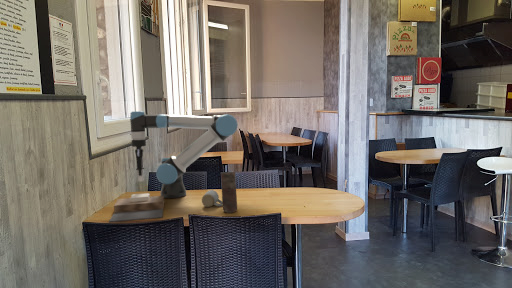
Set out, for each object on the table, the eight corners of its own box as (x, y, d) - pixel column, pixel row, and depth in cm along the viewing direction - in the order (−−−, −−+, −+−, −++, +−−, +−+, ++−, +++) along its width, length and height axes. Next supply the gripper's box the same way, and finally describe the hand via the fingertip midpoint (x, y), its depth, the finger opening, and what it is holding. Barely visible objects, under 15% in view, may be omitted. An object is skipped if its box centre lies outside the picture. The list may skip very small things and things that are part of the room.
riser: (164, 202, 202) (163, 195, 202) (163, 209, 188) (162, 201, 188) (118, 206, 197) (118, 199, 196) (114, 213, 183) (113, 205, 183)
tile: (149, 197, 199) (149, 193, 199) (148, 200, 191) (148, 196, 191) (132, 198, 197) (132, 194, 197) (130, 202, 189) (130, 197, 189)
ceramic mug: (201, 207, 190) (200, 193, 189) (205, 203, 198) (205, 189, 197) (220, 208, 188) (220, 193, 188) (224, 204, 196) (224, 190, 196)
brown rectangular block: (219, 211, 182) (217, 172, 180) (230, 208, 187) (229, 170, 185) (229, 214, 176) (227, 173, 174) (240, 211, 181) (239, 171, 180)
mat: (163, 209, 187) (163, 208, 187) (162, 217, 174) (162, 216, 174) (114, 213, 182) (114, 212, 182) (109, 222, 169) (109, 221, 169)
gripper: (132, 138, 206) (135, 179, 209) (130, 140, 194) (132, 183, 196) (146, 138, 208) (148, 178, 210) (144, 139, 195) (146, 182, 197)
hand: (140, 180), depth 203 cm, fingers closed
